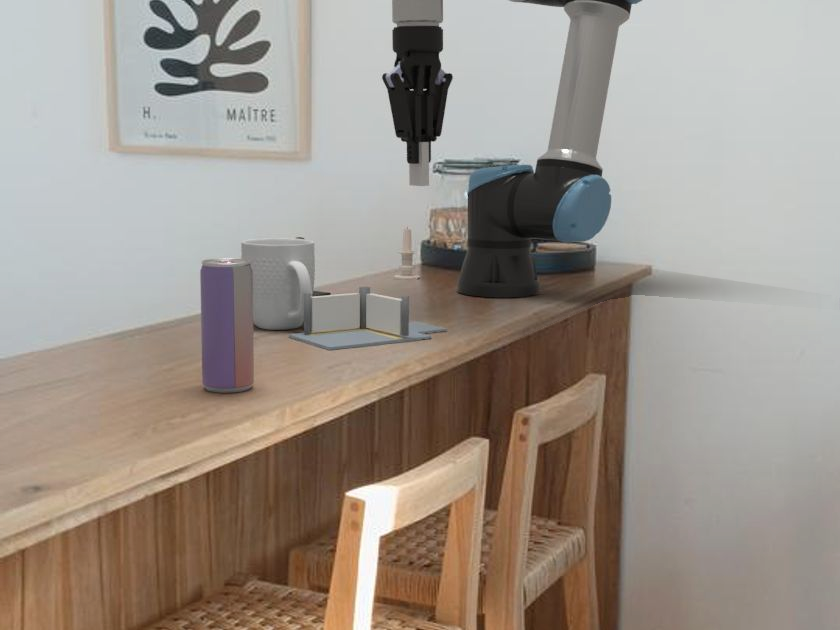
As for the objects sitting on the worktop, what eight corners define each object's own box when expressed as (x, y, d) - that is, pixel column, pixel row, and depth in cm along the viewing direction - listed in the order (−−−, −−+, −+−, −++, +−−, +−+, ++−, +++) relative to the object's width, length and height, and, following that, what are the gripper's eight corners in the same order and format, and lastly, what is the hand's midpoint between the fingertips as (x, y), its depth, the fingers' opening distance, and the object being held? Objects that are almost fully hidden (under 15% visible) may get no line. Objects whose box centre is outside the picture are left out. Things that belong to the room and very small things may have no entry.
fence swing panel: (410, 335, 173) (411, 296, 172) (404, 336, 172) (404, 297, 171) (372, 326, 180) (372, 289, 179) (366, 327, 179) (366, 290, 178)
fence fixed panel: (366, 330, 182) (366, 286, 181) (371, 331, 180) (372, 287, 179) (301, 336, 175) (301, 291, 174) (307, 338, 174) (307, 293, 173)
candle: (395, 276, 244) (395, 225, 243) (421, 277, 244) (421, 225, 242) (392, 279, 239) (392, 227, 238) (418, 280, 239) (419, 227, 237)
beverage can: (209, 395, 138) (207, 264, 135) (197, 384, 143) (194, 259, 141) (260, 391, 140) (258, 262, 138) (246, 381, 145) (244, 257, 143)
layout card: (416, 323, 188) (416, 320, 188) (461, 335, 178) (461, 332, 178) (288, 337, 175) (288, 334, 175) (329, 350, 165) (329, 346, 165)
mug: (340, 332, 179) (340, 245, 177) (273, 339, 173) (273, 248, 171) (293, 318, 191) (293, 236, 189) (229, 324, 185) (228, 239, 183)
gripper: (429, 27, 186) (431, 181, 190) (368, 25, 177) (370, 186, 181) (466, 25, 181) (466, 183, 185) (404, 22, 172) (406, 189, 176)
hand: (419, 185), depth 183 cm, fingers closed
